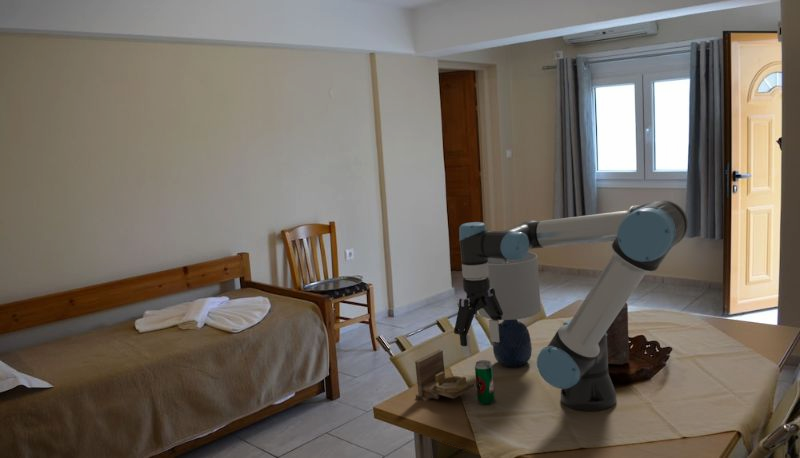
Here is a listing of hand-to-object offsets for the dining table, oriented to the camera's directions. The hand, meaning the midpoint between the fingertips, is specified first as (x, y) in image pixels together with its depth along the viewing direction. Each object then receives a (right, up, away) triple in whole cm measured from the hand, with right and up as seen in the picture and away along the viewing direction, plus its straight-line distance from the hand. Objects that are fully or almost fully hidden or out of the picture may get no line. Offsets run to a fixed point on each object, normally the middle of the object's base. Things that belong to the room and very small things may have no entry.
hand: (481, 348), depth 187 cm
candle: (+46, -9, +21) cm, 52 cm away
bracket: (-10, -16, +9) cm, 21 cm away
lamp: (+14, -10, +30) cm, 35 cm away
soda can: (+2, -16, +2) cm, 17 cm away
